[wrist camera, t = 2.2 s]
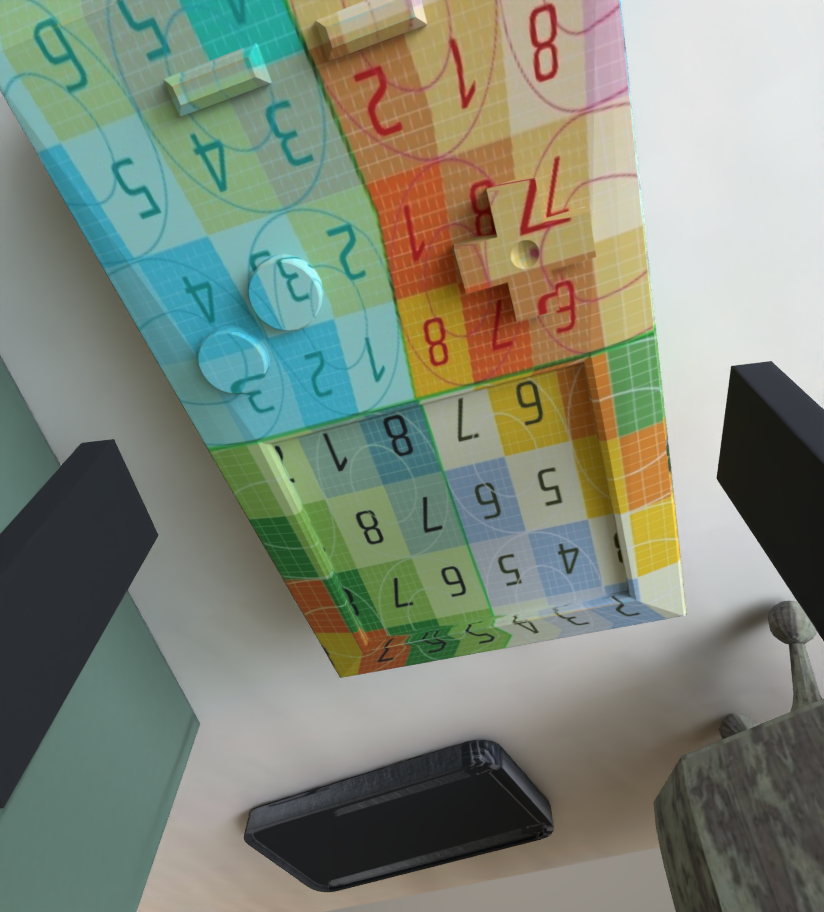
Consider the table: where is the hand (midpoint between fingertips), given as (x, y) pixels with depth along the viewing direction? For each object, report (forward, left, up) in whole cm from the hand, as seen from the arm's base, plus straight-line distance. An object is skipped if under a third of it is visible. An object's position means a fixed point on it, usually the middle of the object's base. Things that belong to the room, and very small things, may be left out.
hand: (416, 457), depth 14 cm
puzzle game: (0, 0, -7) cm, 7 cm away
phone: (+26, -5, -6) cm, 27 cm away
